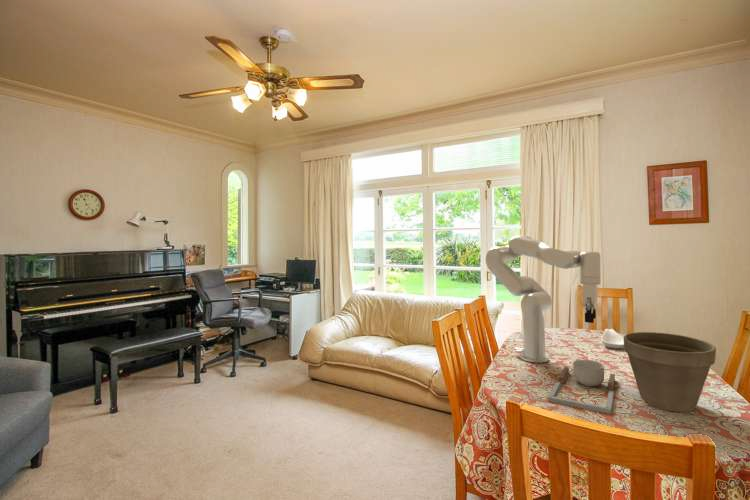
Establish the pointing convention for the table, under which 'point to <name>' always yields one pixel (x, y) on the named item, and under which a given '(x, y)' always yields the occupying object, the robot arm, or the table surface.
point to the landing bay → (581, 404)
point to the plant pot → (669, 368)
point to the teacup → (588, 372)
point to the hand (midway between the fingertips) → (590, 320)
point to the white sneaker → (612, 339)
